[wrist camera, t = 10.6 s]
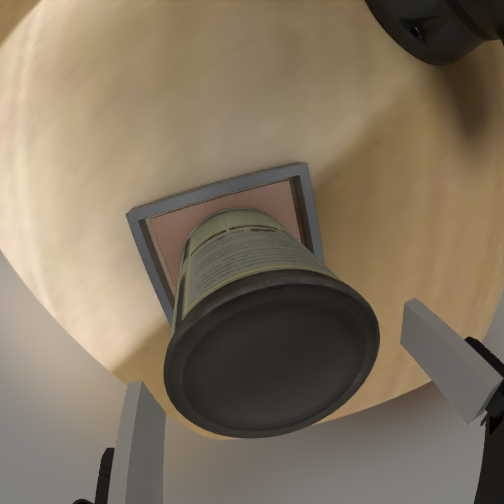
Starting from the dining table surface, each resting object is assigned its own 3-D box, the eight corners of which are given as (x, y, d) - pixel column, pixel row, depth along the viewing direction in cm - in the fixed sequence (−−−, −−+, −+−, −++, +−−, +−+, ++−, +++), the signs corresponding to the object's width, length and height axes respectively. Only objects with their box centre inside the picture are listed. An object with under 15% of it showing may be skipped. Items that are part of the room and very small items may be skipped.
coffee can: (311, 281, 26) (390, 382, 13) (216, 329, 26) (235, 456, 13) (266, 183, 22) (353, 228, 9) (157, 242, 23) (113, 352, 10)
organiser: (298, 162, 23) (307, 162, 21) (330, 385, 33) (336, 395, 31) (131, 209, 22) (125, 214, 20) (225, 417, 32) (227, 429, 30)
